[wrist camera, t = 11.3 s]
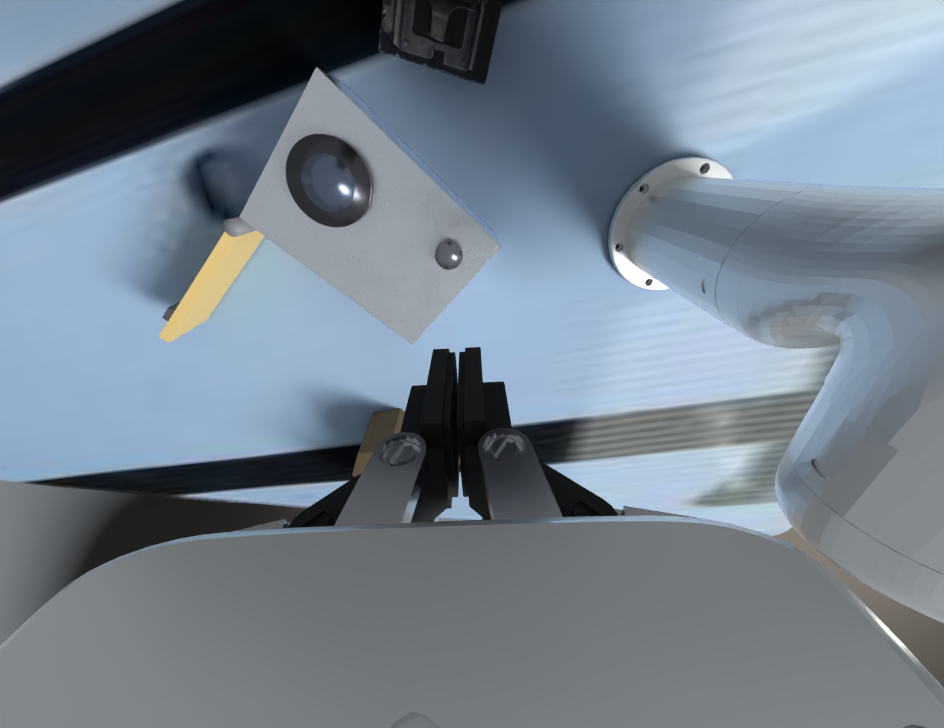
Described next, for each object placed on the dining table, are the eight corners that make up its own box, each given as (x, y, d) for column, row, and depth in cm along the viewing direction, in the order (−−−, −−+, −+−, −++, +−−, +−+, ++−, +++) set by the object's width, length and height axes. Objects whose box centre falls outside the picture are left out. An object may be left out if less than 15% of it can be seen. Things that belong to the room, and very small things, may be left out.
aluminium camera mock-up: (495, 233, 35) (501, 249, 29) (418, 320, 40) (409, 350, 34) (345, 85, 29) (310, 62, 22) (276, 209, 34) (230, 220, 27)
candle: (441, 486, 55) (432, 584, 43) (358, 467, 53) (323, 564, 40) (469, 427, 49) (469, 521, 36) (376, 401, 46) (341, 493, 34)
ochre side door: (209, 320, 40) (166, 346, 34) (189, 306, 39) (141, 331, 33) (280, 217, 34) (243, 228, 28) (258, 198, 33) (215, 205, 27)
